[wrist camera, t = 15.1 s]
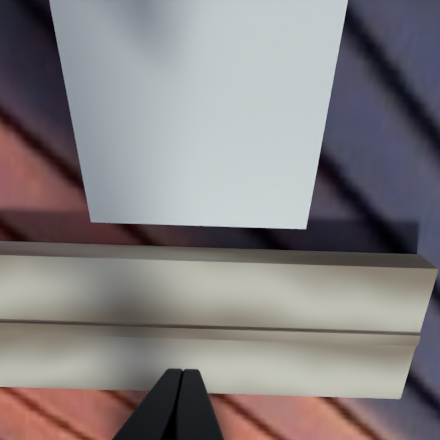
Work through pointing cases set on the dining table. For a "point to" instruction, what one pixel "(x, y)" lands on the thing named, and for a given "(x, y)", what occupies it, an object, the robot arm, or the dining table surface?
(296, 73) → the white square slab
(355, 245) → the dining table surface
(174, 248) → the laid plank
